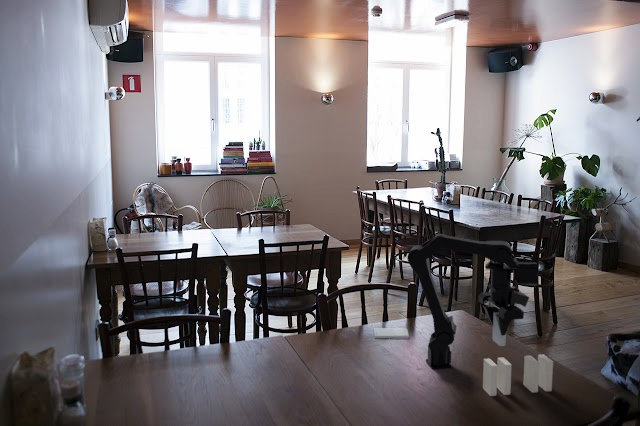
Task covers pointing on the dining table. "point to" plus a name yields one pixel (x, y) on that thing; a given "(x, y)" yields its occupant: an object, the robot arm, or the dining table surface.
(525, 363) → the domino
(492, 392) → the domino
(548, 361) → the domino
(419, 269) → the robot arm
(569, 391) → the dining table surface
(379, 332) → the hard drive
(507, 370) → the domino
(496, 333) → the domino
